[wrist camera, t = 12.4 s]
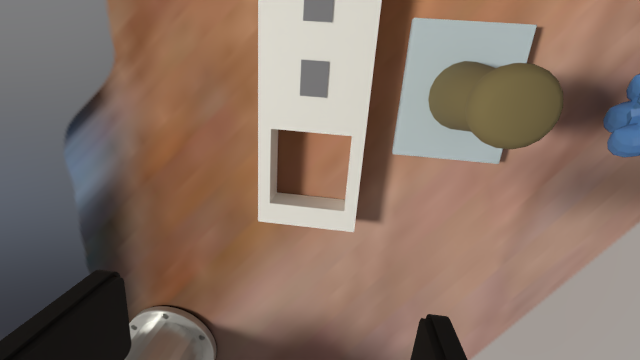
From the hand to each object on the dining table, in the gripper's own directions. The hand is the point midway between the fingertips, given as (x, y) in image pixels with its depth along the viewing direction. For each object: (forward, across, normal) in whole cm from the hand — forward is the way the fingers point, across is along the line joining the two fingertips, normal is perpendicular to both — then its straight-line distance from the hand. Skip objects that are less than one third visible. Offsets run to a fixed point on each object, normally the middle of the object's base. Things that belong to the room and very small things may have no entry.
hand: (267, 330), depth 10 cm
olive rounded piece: (+22, -12, -7) cm, 27 cm away
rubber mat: (+23, -12, -8) cm, 27 cm away
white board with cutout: (+24, +1, -5) cm, 24 cm away
